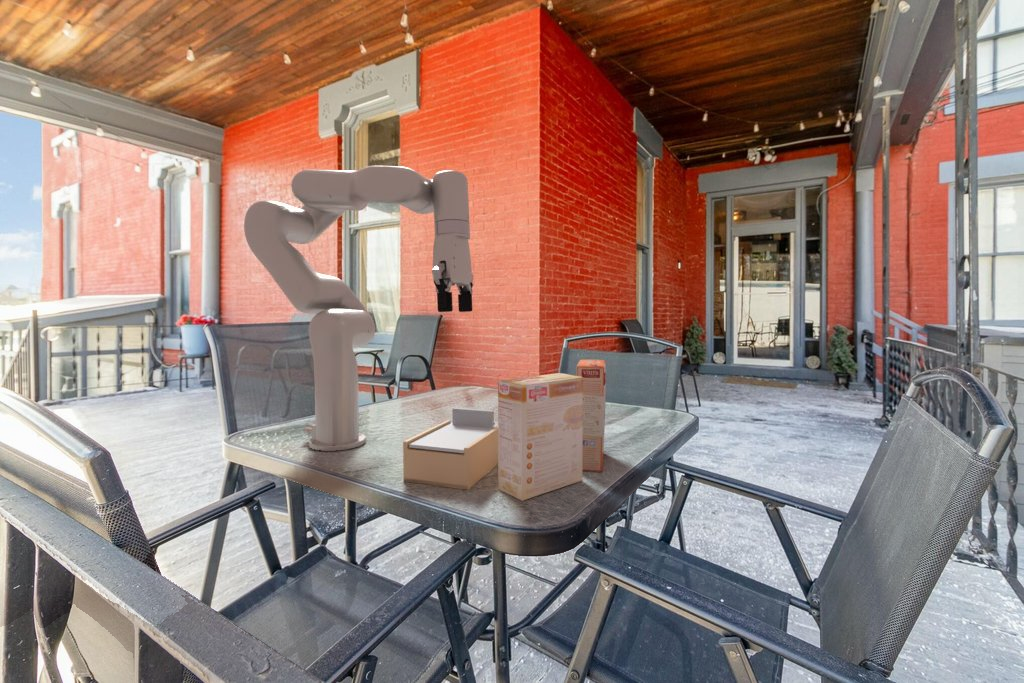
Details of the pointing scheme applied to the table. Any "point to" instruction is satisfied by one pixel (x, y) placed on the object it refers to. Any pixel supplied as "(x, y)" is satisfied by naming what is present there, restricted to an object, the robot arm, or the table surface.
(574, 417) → the coffeecake box
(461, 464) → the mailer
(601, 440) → the cracker box
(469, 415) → the lid
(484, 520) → the table surface
